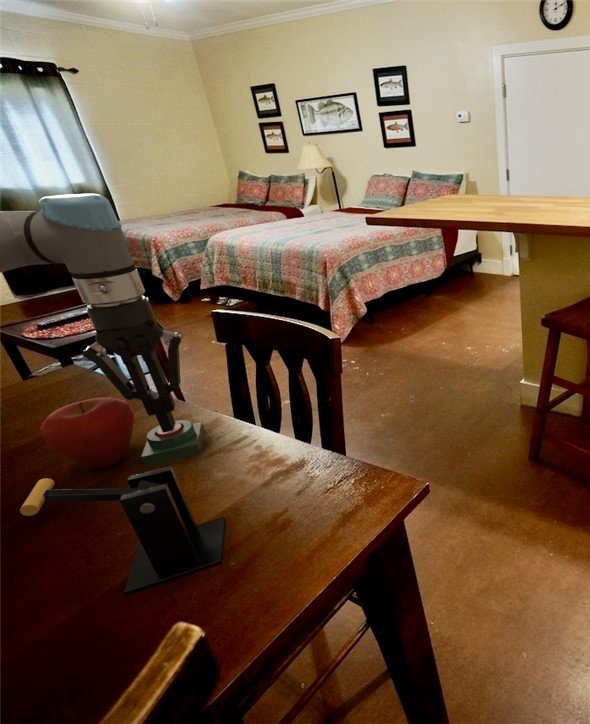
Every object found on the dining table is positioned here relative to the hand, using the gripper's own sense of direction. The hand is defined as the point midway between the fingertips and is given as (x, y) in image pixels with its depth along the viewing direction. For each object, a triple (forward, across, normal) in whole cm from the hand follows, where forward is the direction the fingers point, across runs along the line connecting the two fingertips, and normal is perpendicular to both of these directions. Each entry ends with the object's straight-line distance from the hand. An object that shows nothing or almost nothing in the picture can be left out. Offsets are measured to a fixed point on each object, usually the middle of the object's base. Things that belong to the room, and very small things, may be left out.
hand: (169, 427), depth 83 cm
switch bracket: (+5, +4, -30) cm, 31 cm away
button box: (+5, 0, 0) cm, 5 cm away
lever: (-7, -1, -30) cm, 31 cm away
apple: (+5, -10, +1) cm, 11 cm away
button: (+2, 0, 0) cm, 2 cm away
